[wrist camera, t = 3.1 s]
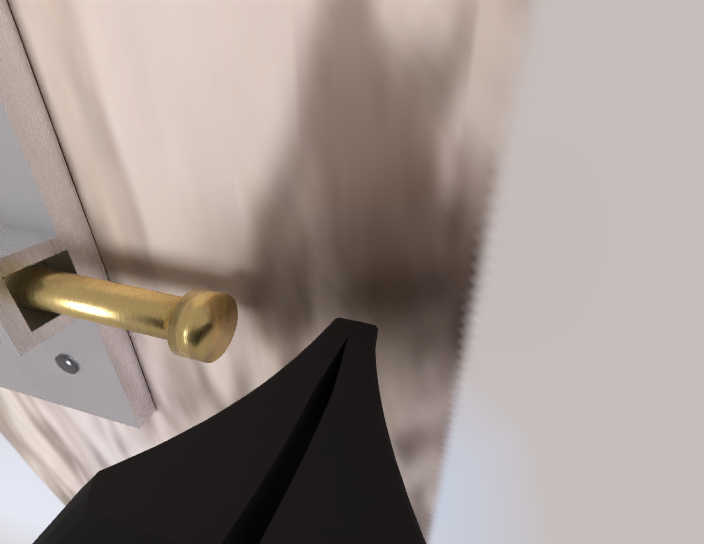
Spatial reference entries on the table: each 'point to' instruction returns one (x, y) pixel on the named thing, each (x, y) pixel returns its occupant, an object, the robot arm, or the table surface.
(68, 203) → the steel hinge
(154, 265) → the table surface
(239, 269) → the table surface
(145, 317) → the brass headed pin
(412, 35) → the table surface
